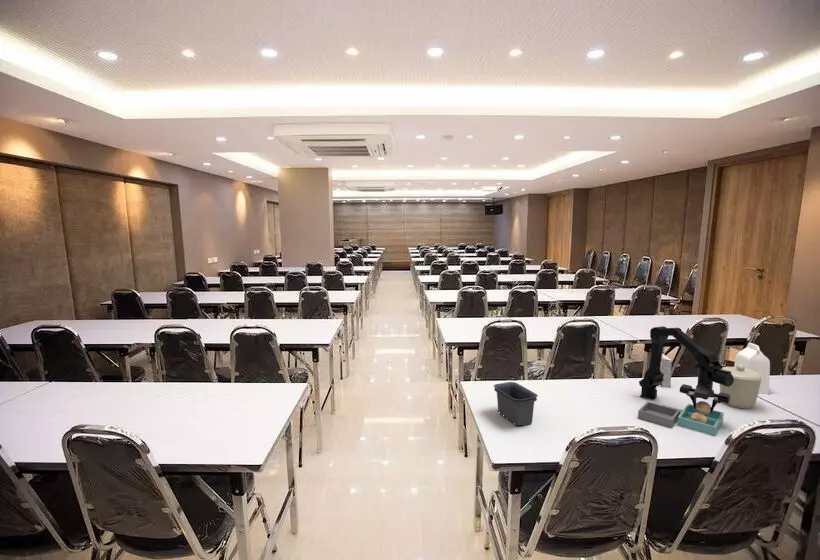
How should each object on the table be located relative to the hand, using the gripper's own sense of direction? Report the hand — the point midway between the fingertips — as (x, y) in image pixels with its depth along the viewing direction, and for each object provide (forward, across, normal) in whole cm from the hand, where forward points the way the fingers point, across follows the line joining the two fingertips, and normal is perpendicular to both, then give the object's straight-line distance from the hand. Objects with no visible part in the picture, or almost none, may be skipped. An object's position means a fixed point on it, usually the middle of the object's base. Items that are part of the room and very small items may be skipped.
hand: (703, 410), depth 188 cm
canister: (+5, +9, +32) cm, 34 cm away
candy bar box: (+5, -26, +38) cm, 46 cm away
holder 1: (+4, -15, -12) cm, 20 cm away
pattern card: (+4, -13, +2) cm, 14 cm away
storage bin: (+5, -64, -60) cm, 88 cm away
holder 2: (+4, 0, -4) cm, 6 cm away
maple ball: (-2, 0, 0) cm, 2 cm away
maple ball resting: (+1, 0, -9) cm, 9 cm away
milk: (+5, +11, +62) cm, 63 cm away
